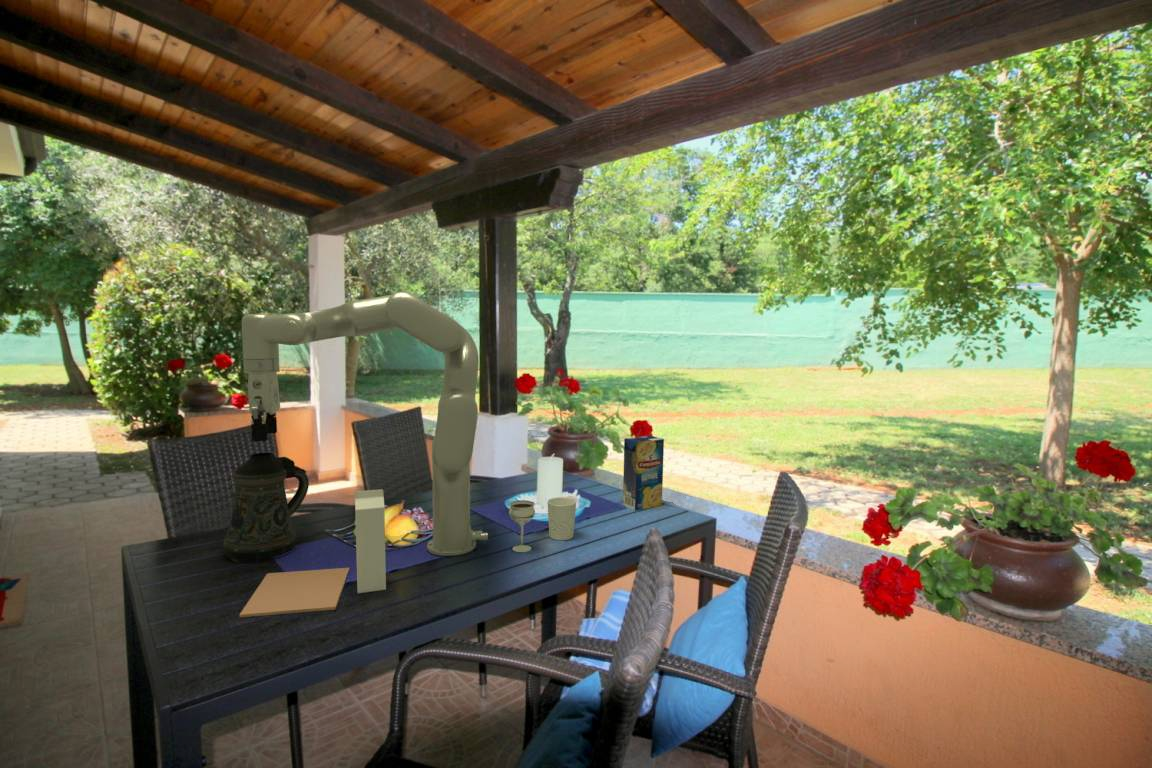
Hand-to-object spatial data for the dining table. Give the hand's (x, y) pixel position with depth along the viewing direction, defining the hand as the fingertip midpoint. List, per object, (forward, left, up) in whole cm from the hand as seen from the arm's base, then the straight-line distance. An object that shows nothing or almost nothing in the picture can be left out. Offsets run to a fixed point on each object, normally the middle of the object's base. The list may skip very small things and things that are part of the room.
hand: (265, 437), depth 145 cm
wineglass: (-62, +3, -31) cm, 69 cm away
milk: (-26, +19, -31) cm, 45 cm away
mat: (-11, +19, -31) cm, 38 cm away
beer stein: (+3, -9, -31) cm, 32 cm away
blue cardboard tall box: (-105, -27, -31) cm, 113 cm away
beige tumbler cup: (-74, -4, -31) cm, 80 cm away
